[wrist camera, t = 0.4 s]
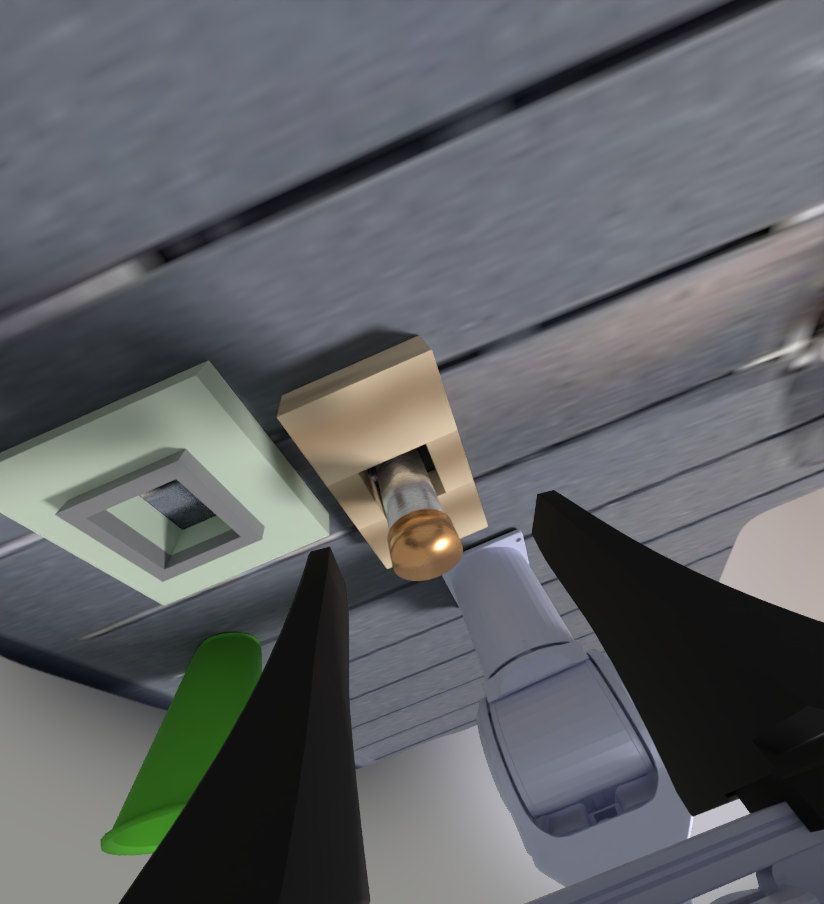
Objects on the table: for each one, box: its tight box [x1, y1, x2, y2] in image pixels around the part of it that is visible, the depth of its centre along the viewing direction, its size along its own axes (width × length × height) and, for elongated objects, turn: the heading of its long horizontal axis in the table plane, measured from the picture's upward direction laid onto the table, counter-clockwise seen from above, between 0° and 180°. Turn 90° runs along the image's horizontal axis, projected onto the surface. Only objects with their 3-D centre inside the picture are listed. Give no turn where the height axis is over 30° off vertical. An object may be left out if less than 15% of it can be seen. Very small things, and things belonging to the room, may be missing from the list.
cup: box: [101, 633, 262, 855], centre depth 25 cm, size 9×9×11 cm
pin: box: [375, 448, 463, 581], centre depth 18 cm, size 3×3×8 cm
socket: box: [0, 360, 329, 606], centre depth 18 cm, size 12×12×3 cm
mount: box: [277, 335, 488, 569], centre depth 21 cm, size 14×8×2 cm, turn 20°
